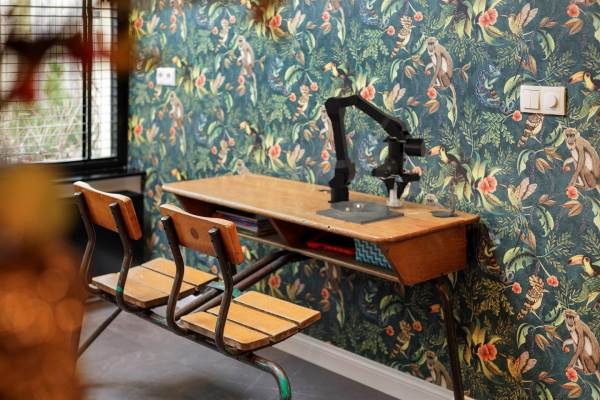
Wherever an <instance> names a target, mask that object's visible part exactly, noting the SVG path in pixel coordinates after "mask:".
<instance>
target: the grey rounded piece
mask: <svg viewBox="0 0 600 400" xmlns="http://www.w3.org/2000/svg"><path fill="white" fill-rule="evenodd" d="M454 191H455V190H454V188H452V189H451V194H450V195H449V197H448V211H445V210H444V211H443V210H436V211H432V213H431V214H432V216H434V217H440V218H447V217H451V216H452V214H454V213H455V212H456V208H457V205H456V204H457V202H456V200H457V199H456V196H455V194H454Z"/></svg>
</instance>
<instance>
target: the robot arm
mask: <svg viewBox="0 0 600 400" xmlns="http://www.w3.org/2000/svg"><path fill="white" fill-rule="evenodd" d="M353 106H354V107H355V108H357V109H358V110H359V111H361V112H362V113H364V114H366V115H367V116H368V117H369V118H371V119H372V120H374V121H375V122H377V123H378V124H379V125H380V126H381V128H382V129H383V131H384V132H385V133H386V134H387V135H386V137H385V138H384V139H383V140H382V143H386V144H387V147H388V148H387V157H385V159H384V163H381V164H380V165H379V166H377V167H374V168H372V169H371V171H370V172H371V177H376V178H379V180H380V181H382V182H383V183H384V185H385V188H386V192H387V195H388V198H390V190H391V189H395V184H396V189H397V199H399V200H400V199H401V197H402V195H403V193H404V191H405V189H406V188H407V186H408V184H409V183H415V182H420V181H421V175H420V174H419V173H418V172H413V171H408V172H407V171H406V168H404V165H405V162H406V161H407V158H406V157H413V158H425V155H426V151H427V146H426V142H425V138H424V137H413V136H412V135H411V132H410V131H409V130H408V128H407V127H408V126H407V123H406V122H405V120H402V119H400V118H398V117H395V116H394V115H393V116H392V115H390V114H388V113H386V112H385V111H383V110H382V109H380V108H379V107H377V106H376V105H375V104H373V103H372V102H371V101H369V100H367V99H366V98H365V97H363V96H362V95H361V94H359V93H356V94H355V93H354V94H352V95H349V96H344V97H342V96H338V95H337V96H330V97H328V98H326V101H325V102H324V109H325V112H326V115H327V117H328V119H329V120H330V122H331V129H332V136H333V143H334V151H335V152H334V153H335V157H336V158H335V159H336V162H335V166H334V175H333V177H332V178H331V179H330V180H329V181H328V186H329V188H330V200H327V203H330V204H333V203H337V202H342V201H350V191H349V190H350V189H349V188H350V187H349V186H350V185H351V183H352V182H353V181H354V179H355V177H356V174H357V169H356V162H355V161H351V159H350V156H349V149H348V141H347V136H346V127H345V116H346V111H347V108H349V107H353ZM405 155H406V157H405ZM396 178H398V180H396Z"/></svg>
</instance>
